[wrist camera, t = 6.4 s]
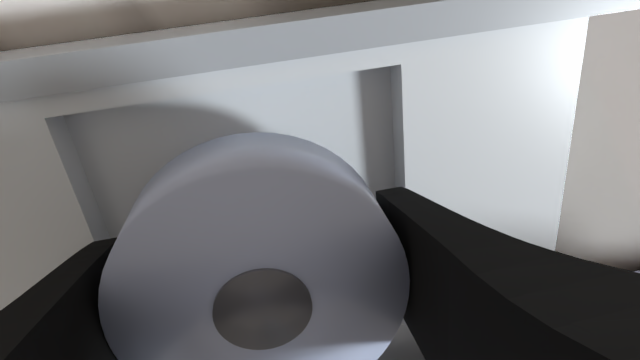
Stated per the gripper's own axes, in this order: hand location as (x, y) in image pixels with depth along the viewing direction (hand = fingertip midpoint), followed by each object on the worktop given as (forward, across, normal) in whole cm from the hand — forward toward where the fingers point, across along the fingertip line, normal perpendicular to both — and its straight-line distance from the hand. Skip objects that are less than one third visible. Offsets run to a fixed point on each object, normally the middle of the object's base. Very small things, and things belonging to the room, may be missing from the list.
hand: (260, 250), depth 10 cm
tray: (+3, 0, +1) cm, 3 cm away
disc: (0, 0, 0) cm, 0 cm away
